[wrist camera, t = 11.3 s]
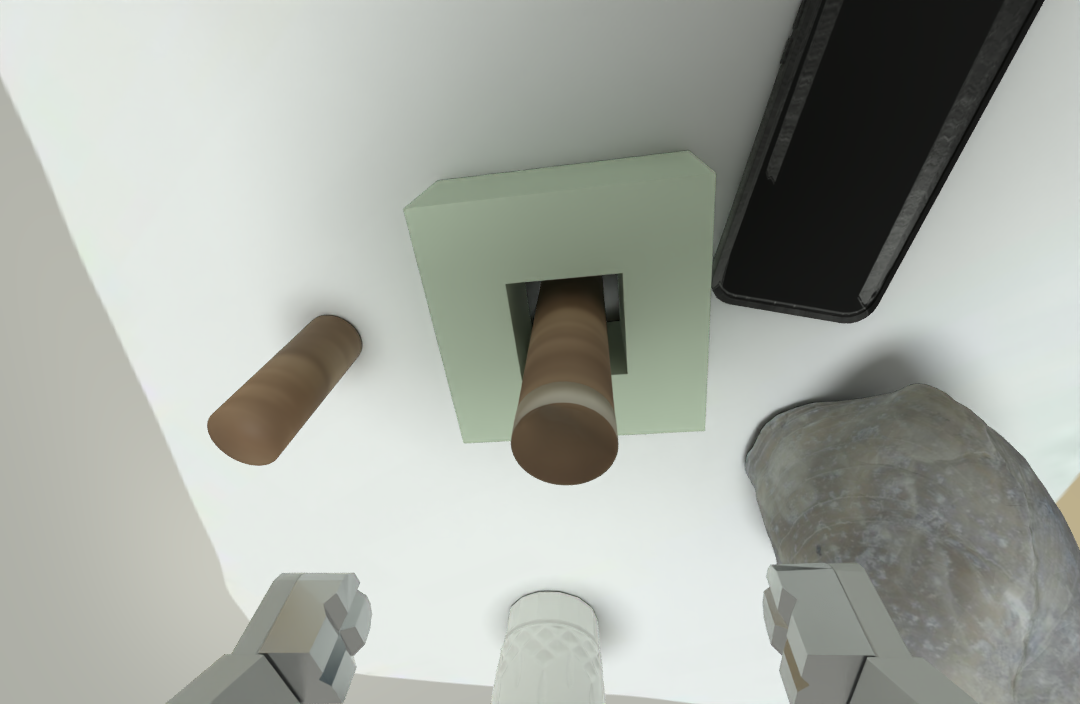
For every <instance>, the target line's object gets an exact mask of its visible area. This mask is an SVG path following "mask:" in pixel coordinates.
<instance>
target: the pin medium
mask: <svg viewBox="0 0 1080 704" xmlns="http://www.w3.org/2000/svg"><path fill="white" fill-rule="evenodd" d="M361 349H362V343H361V339H360V336H359V334H358V333H357V331H356V330H355V329H354V327H353V326H352V325H350V324H349V323H348V322H346V321H345V320H343V319H341V318H339V317H336V316H331V315H323V316H319V317H317V318H315V319H314V320H312V321H311V322H310V323H309V324H308V325H307V326H306V327H305V328H304V329H303V330H302V331H301V332H299V333H298V334H297V335H296V336H295V337H294V338H293V339H292V340H291V341H290V342H289V343H288V344H287V345H286V346H284V347H283V348H282V349H281V350H280V351H279V352H278V353H277V354H276V355H275V356H274V357H273V358H272V359H271V360H270V361H268V362H267V363H266V364H265V365H264V366H263V367H262V368H261V369H260V370H259V371H258V372H257V373H256V374H255V375H253V376H252V377H251V378H250V379H249V380H248V381H247V382H246V383H245V384H244V385H243V386H242V387H241V388H240V389H239V390H237V391H236V392H235V393H234V394H233V395H232V396H231V397H230V398H229V399H228V400H227V401H226V402H225V403H224V404H222V405H221V406H220V407H219V408H218V409H217V410H216V411H215V412H214V413H213V414H212V415H211V416H210V418H209V420H208V424H207V428H208V433H209V435H210V437H211V439H212V441H213V442H214V443H215V445H216V446H217V447H218V448H219V449H220V450H221V451H223V452H224V453H225V454H226V455H228V456H229V457H231V458H233V459H235V460H237V461H239V462H242V463H245V464H249V465H258V466H260V465H267V464H270V463H272V462H274V461H275V460H276V459H277V458H278V457H279V455H280V454H281V453H282V452H283V450H284V449H285V448H286V447H287V445H288V444H289V443H290V442H291V440H292V439H293V438H294V436H295V435H296V434H297V433H298V431H299V430H300V429H301V428H302V426H303V425H304V424H305V423H306V421H307V420H308V419H309V418H310V416H311V415H312V414H313V413H314V411H315V410H316V409H317V408H318V406H319V405H320V404H321V403H322V401H323V400H324V399H325V398H326V396H327V395H328V394H329V393H330V391H331V390H332V389H333V388H334V386H335V385H336V384H337V383H338V381H339V380H340V379H341V378H342V376H343V375H344V374H345V373H346V371H347V370H348V369H349V368H350V366H351V365H352V364H353V362H354V361H355V360H356V359H357V357H358V356H359V355H360V353H361Z"/></svg>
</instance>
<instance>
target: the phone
mask: <svg viewBox="0 0 1080 704" xmlns="http://www.w3.org/2000/svg"><path fill="white" fill-rule="evenodd" d="M1044 1H1045V0H802V3H801V5H800V8H799V11H798V14H797V17H796V20H795V23H794V26H793V32H792V35H791V37H790V38H789V39H788V42H787V45H786V48H785V50H784V53H783V56H782V59H781V62H780V64H781V66H780V69H779V72H778V75H777V78H776V81H775V84H774V87H773V90H772V93H771V95H770V98H769V101H768V104H767V107H766V110H765V113H764V116H763V119H762V122H761V124H760V127H759V130H758V133H757V136H756V139H755V142H754V145H753V148H752V151H751V153H750V156H749V159H748V162H747V165H746V168H745V171H744V174H743V177H742V179H741V182H740V185H739V188H738V191H737V194H736V197H735V200H734V203H733V206H732V208H731V211H730V214H729V217H728V220H727V223H726V226H725V229H724V232H723V235H722V237H721V240H720V243H719V246H718V249H717V252H716V255H715V258H714V261H713V264H712V279H711V288H712V290H713V292H714V293H715V295H716V297H717V298H718V299H720V300H721V301H722V302H725V303H728V304H732V305H738V306H744V307H750V308H755V309H761V310H767V311H773V312H779V313H785V314H791V315H797V316H803V317H808V318H814V319H820V320H826V321H832V322H838V323H854V322H858V321H860V320H862V319H864V318H866V317H867V316H869V315H870V314H871V313H872V312H873V311H874V310H875V309H876V307H877V306H878V304H879V302H880V301H881V299H882V297H883V295H884V293H885V291H886V290H887V288H888V286H889V284H890V282H891V280H892V279H893V277H894V275H895V273H896V271H897V269H898V268H899V266H900V264H901V262H902V260H903V258H904V257H905V255H906V253H907V251H908V249H909V247H910V246H911V244H912V242H913V240H914V238H915V236H916V235H917V233H918V231H919V229H920V227H921V226H922V224H923V222H924V220H925V218H926V216H927V215H928V213H929V211H930V209H931V207H932V205H933V204H934V202H935V200H936V198H937V196H938V194H939V193H940V191H941V189H942V187H943V185H944V183H945V182H946V180H947V178H948V176H949V174H950V172H951V171H952V169H953V167H954V165H955V163H956V162H957V160H958V158H959V156H960V154H961V152H962V151H963V149H964V147H965V145H966V143H967V141H968V140H969V138H970V136H971V134H972V132H973V130H974V129H975V127H976V125H977V123H978V121H979V119H980V118H981V116H982V114H983V112H984V110H985V108H986V107H987V105H988V103H989V101H990V99H991V98H992V96H993V94H994V92H995V90H996V88H997V87H998V85H999V83H1000V81H1001V79H1002V77H1003V76H1004V74H1005V72H1006V70H1007V68H1008V66H1009V65H1010V63H1011V61H1012V59H1013V57H1014V55H1015V54H1016V52H1017V50H1018V48H1019V46H1020V44H1021V43H1022V41H1023V39H1024V37H1025V35H1026V34H1027V32H1028V30H1029V28H1030V26H1031V24H1032V23H1033V21H1034V19H1035V17H1036V15H1037V13H1038V12H1039V10H1040V8H1041V6H1042V4H1043V2H1044Z"/></svg>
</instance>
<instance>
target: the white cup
mask: <svg viewBox="0 0 1080 704" xmlns="http://www.w3.org/2000/svg"><path fill="white" fill-rule="evenodd" d="M599 649H600V647H599V631H598V620H597V618H596V616H595V613H594V611H593V609H592V607H590V606H589V605H588V604H586V603H585V602H584V601H582V600H581V599H579V598H578V597H575V596H571V595H568V594H565V593H561V592H537V593H534V594H530V595H527V596H524V597H522V598H520V599H519V600H518V601H517V602H516V603H515V604H514V605H513V606H512V607H511V609H510V614H509V620H508V626H507V632H506V636H505V639H504V644H503V646H502V648H501V653H500V659H499V662H498V666H497V670H496V676H495V682H494V687H493V693H492V698H491V703H490V704H606V702H605V689H604V681H603V667H602V659H601V654H600V650H599Z"/></svg>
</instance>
